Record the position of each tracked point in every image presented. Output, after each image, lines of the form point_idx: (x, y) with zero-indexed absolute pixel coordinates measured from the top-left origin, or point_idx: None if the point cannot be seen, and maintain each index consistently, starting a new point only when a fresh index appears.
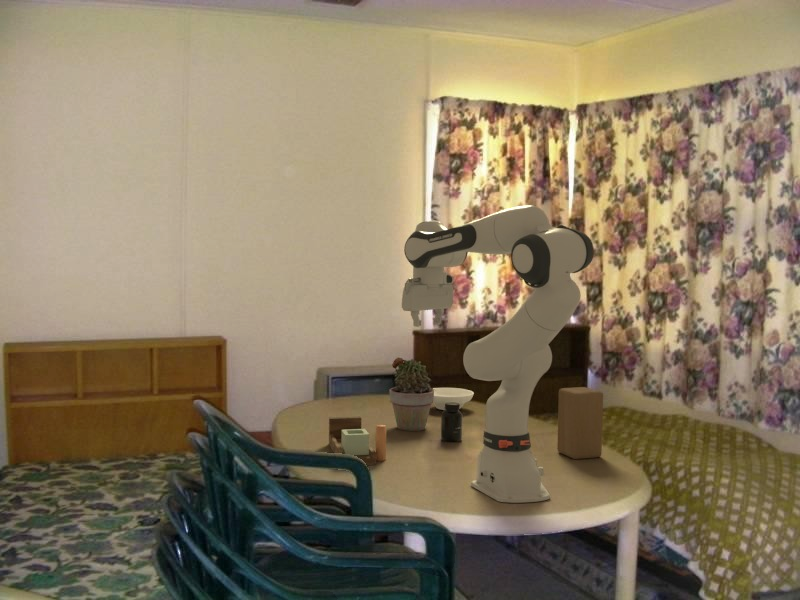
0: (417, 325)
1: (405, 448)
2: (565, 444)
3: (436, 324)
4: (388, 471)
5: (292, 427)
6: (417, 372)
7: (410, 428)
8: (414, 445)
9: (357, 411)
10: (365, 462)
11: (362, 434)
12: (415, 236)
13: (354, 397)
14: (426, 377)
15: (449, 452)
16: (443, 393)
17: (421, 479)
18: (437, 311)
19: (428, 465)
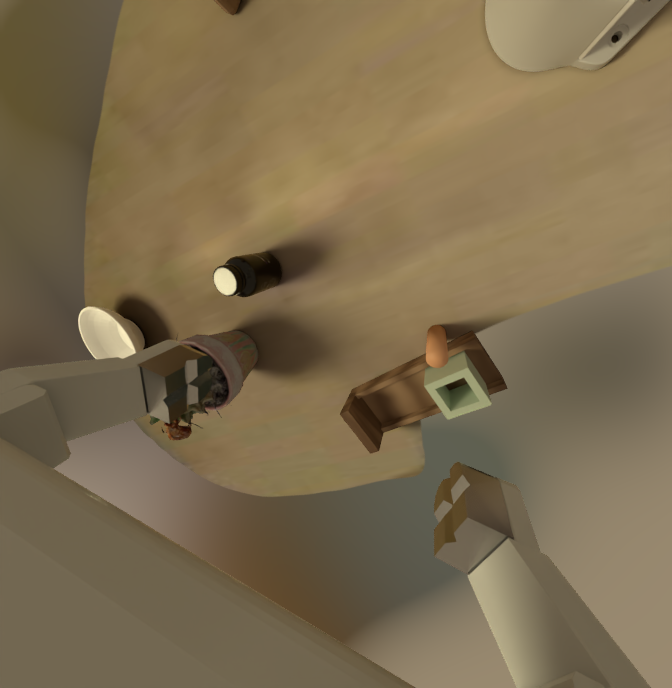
0: (513, 495)
1: (351, 319)
2: None
3: (211, 364)
4: (513, 295)
5: (321, 478)
6: None
7: (254, 346)
8: (327, 312)
9: (214, 430)
10: (482, 346)
11: (475, 378)
12: None
13: (166, 447)
14: None
15: (341, 241)
16: (105, 353)
17: (560, 211)
18: (53, 441)
19: (444, 241)
